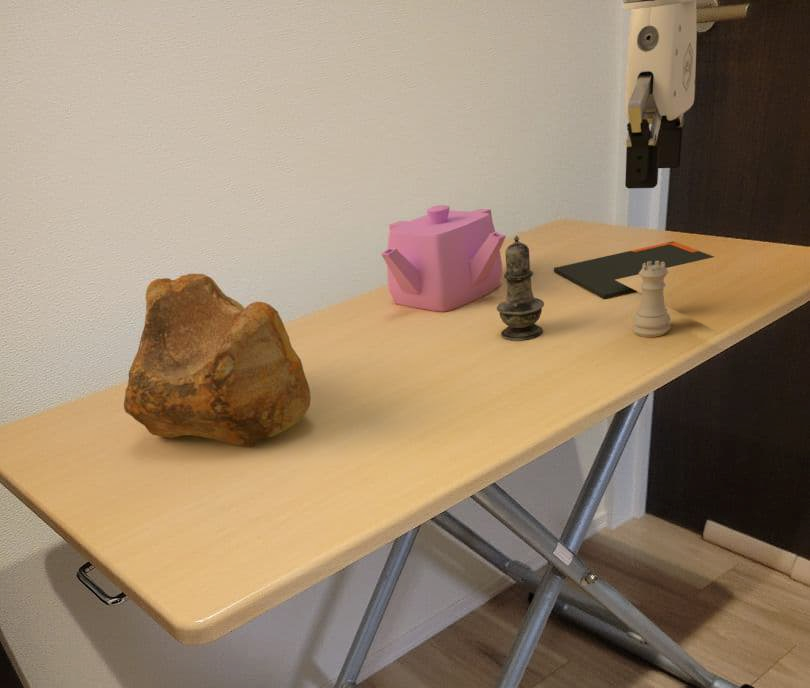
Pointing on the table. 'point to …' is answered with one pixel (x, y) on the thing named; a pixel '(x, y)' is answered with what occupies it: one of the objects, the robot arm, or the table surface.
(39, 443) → the table surface
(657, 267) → the rook chess piece
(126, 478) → the table surface
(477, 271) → the teakettle
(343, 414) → the table surface
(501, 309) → the salt shaker
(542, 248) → the table surface
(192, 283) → the rough brown rock
